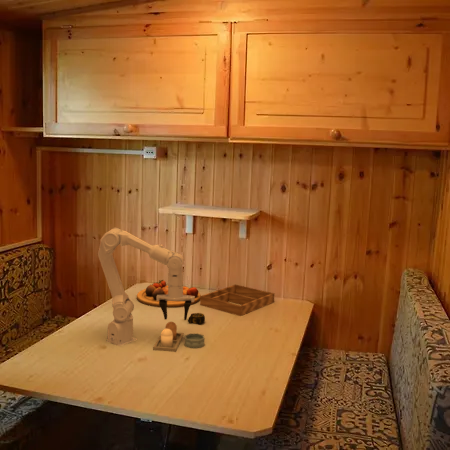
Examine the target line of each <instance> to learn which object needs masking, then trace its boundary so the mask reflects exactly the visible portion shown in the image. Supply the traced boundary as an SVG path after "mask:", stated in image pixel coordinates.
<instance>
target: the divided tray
mask: <svg viewBox="0 0 450 450" xmlns="http://www.w3.org/2000/svg"><path fill="white" fill-rule="evenodd" d="M184 337H185V334H184V333H183V332H177V338H176V340H173V347H172V348H169V347H161V334H160V335H159V337H158V338H157V340H156V341H155V343H154V345H153V346H152V351H160V352H161V351H162V352H174V353H176V352H177V350H178V348H179V346H180V344H181V342H182V340H183V339H184Z"/></svg>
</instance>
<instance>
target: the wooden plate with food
mask: <svg viewBox="0 0 450 450" xmlns="http://www.w3.org/2000/svg"><path fill="white" fill-rule="evenodd" d="M166 294H168V284H167V282H166V280H164V279H162V280H161V279H160V280H159V282H153V283H152V284H149V285H148V286H147V287H146V288H144V289H142V290H140V291H139V292H137V294H136V299H137V301H138V302H139V303H141V304H143V305H146V306H149V305H150V306H151V307H156V308H161V307H160V305H159V301H157V295H166ZM183 295H189V296H195V301H194V302H192V303H191V305H194V304H196V303H199V302H200V296H202V295H201V293H200V292H199V289H198V288H197V287H196V286H195V287H194V286H193V287H188V286H184V285H183ZM184 303H185V301H167V308H181V307H182V308H183V307H184ZM150 306H149V307H150Z"/></svg>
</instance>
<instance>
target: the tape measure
mask: <svg viewBox="0 0 450 450" xmlns="http://www.w3.org/2000/svg"><path fill="white" fill-rule="evenodd" d="M205 318H206V317H205V314H204V313H201V312H195V313H191V314H190V316H189V317H188V318H187V323H188V324H195V325H200V324H201V325H202V324H203V323H204V322H205V321H206V319H205Z"/></svg>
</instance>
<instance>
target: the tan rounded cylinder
mask: <svg viewBox="0 0 450 450" xmlns="http://www.w3.org/2000/svg"><path fill="white" fill-rule="evenodd" d="M160 335H161V347H169V348H172V347H173V333H172V331H171V330H170V329H168V328H166V329H165V328H164V329H163V330H162V331H161V333H160Z"/></svg>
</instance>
